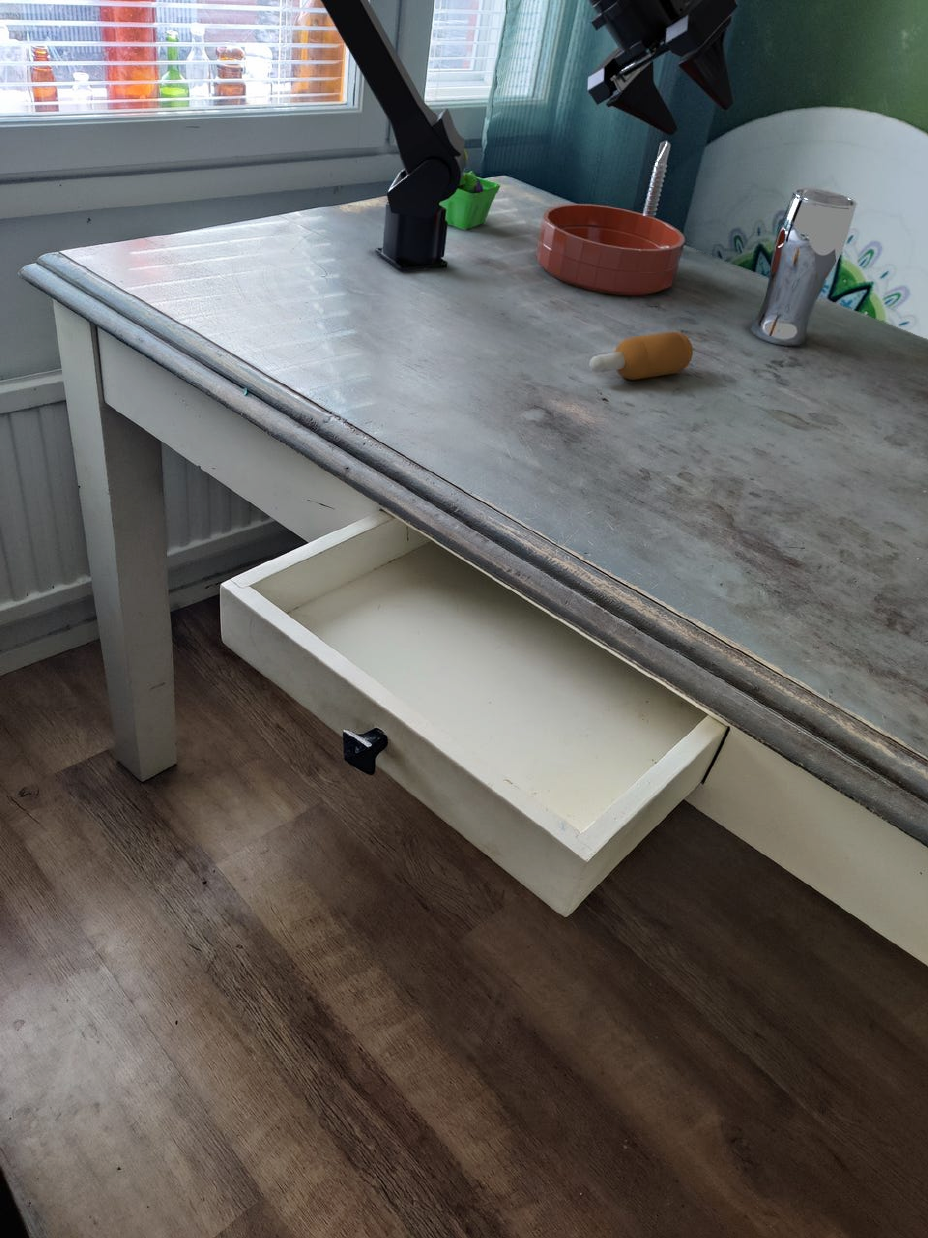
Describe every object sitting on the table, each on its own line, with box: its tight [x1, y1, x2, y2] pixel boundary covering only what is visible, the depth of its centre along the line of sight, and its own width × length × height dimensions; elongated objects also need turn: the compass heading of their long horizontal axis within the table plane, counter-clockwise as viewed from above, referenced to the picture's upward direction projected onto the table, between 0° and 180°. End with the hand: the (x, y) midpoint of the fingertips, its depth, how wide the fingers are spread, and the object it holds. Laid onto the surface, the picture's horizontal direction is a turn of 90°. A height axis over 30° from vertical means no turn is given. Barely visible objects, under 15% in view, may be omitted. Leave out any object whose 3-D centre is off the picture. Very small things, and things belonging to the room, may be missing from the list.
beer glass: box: [750, 187, 858, 347], centre depth 104 cm, size 7×7×15 cm
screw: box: [641, 139, 671, 218], centre depth 125 cm, size 13×5×5 cm
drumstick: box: [589, 331, 694, 381], centre depth 93 cm, size 12×4×4 cm, turn 122°
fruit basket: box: [401, 148, 501, 231], centre depth 123 cm, size 11×9×11 cm
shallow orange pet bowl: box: [535, 203, 686, 296], centre depth 116 cm, size 17×17×6 cm
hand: (700, 120), depth 100 cm, fingers open, 9 cm apart
